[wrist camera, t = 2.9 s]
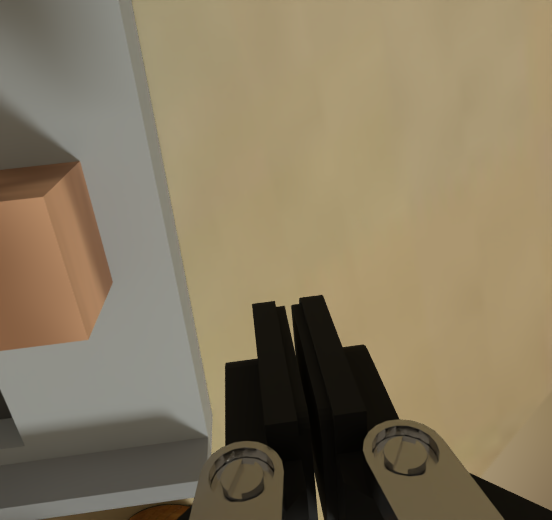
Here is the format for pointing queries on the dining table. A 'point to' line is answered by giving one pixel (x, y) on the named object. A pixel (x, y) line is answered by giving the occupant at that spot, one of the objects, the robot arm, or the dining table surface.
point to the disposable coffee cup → (161, 513)
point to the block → (49, 257)
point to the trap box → (124, 271)
